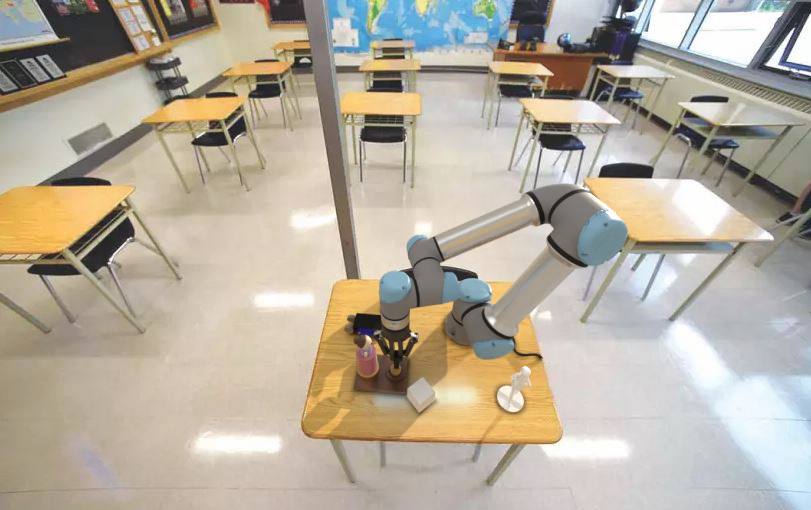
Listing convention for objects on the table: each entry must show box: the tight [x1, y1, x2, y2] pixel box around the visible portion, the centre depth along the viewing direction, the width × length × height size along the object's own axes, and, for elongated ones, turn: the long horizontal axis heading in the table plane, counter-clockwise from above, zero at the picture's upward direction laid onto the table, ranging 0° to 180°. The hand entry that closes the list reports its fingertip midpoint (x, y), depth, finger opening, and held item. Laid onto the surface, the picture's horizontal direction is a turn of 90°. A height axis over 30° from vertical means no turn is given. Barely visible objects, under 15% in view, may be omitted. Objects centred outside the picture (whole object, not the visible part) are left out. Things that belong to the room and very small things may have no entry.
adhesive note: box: [406, 376, 436, 413], centre depth 97 cm, size 6×6×6 cm
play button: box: [390, 364, 401, 377], centre depth 101 cm, size 4×4×2 cm
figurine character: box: [343, 312, 382, 336], centre depth 114 cm, size 7×8×15 cm
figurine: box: [496, 366, 532, 413], centre depth 93 cm, size 8×8×18 cm
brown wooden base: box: [353, 354, 409, 396], centre depth 103 cm, size 16×12×4 cm
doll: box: [353, 334, 379, 378], centre depth 96 cm, size 7×7×17 cm
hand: (396, 364), depth 99 cm, fingers closed
